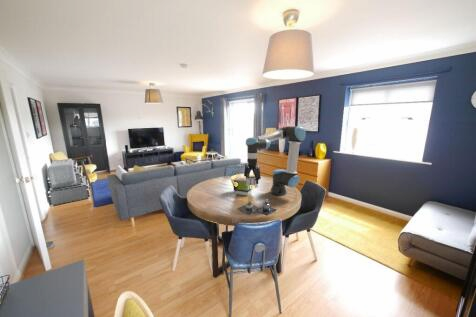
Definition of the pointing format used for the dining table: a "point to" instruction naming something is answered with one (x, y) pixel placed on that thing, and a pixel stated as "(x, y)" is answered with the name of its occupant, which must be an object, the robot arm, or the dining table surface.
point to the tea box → (242, 186)
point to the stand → (266, 208)
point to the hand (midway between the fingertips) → (252, 186)
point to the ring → (251, 180)
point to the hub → (249, 207)
